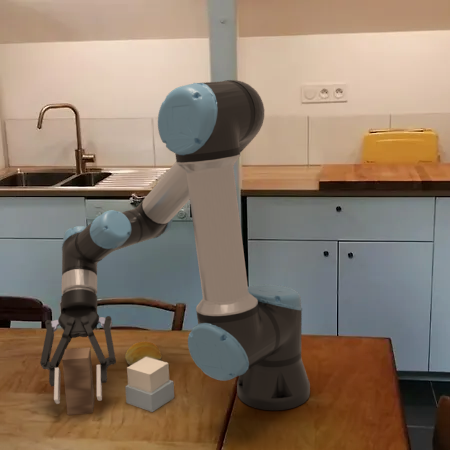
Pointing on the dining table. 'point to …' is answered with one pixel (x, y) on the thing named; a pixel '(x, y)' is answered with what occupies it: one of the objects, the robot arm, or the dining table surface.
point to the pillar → (78, 381)
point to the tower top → (148, 374)
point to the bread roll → (142, 352)
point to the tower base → (150, 396)
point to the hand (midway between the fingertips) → (78, 399)
